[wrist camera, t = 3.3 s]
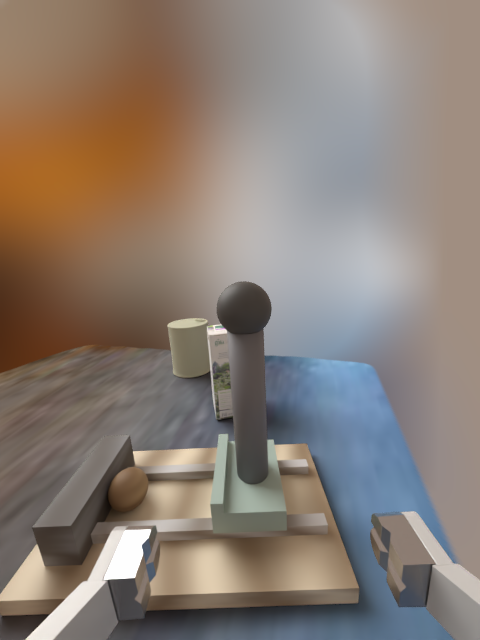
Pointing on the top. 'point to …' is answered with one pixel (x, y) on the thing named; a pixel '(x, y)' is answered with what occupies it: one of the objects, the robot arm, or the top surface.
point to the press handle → (246, 423)
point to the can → (189, 347)
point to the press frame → (185, 535)
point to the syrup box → (220, 371)
